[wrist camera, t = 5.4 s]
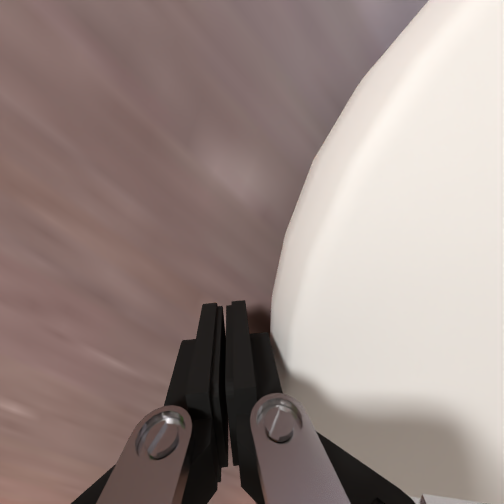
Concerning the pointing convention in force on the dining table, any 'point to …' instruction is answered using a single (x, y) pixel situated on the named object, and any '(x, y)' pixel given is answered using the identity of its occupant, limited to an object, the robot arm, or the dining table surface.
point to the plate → (407, 263)
